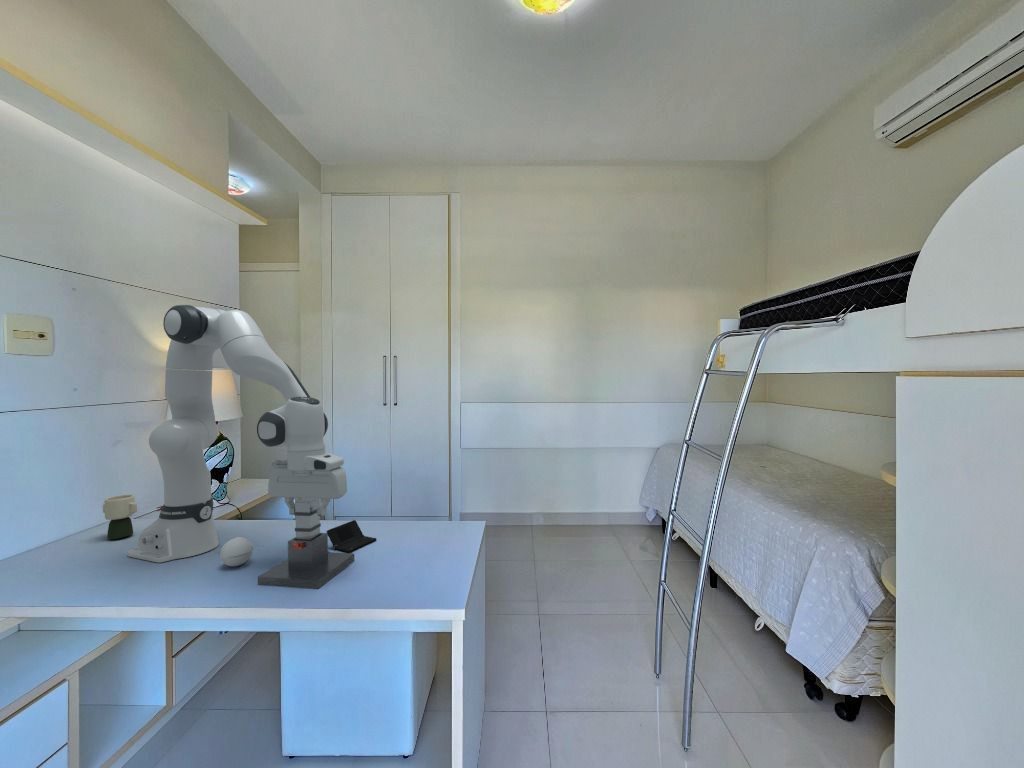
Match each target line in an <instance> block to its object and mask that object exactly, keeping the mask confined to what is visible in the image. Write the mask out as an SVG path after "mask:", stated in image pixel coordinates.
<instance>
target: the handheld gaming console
mask: <svg viewBox="0 0 1024 768" xmlns="http://www.w3.org/2000/svg"><path fill="white" fill-rule="evenodd" d="M325 533H328V540H329V541H330V543H331V545H332V546H333V552H334V551H336V552H338V553H354V552H356V551H358V550H360V549H363V548H364V547H366V546H368V545H371V544H373V543H375V542H377V538H376V537H371V536H366V535H365V534H364V533H363V532H362V530H361V528H360V526H359V524H358V522H357V521H356V520H355V519H353V520H351V521H348V522H346V523H343V524H340V525H337V526H335V527H333V528H330V529H328V530H326V532H325Z"/></svg>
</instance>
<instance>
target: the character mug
mask: <svg viewBox="0 0 1024 768" xmlns="http://www.w3.org/2000/svg"><path fill="white" fill-rule="evenodd" d="M137 512H138V503H137V502H135V495H134V494H129V493H128V494H120V495H113V496H109V497H106V498H105V499H104V503H102V513H104V518H105V520H109V523H108V528H107V536H106V538H107V540H117V539H122V538H127V537H128V536H132V535H134V527H133V524H132V519H131V516H133V515H134V514H135V513H137Z"/></svg>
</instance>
